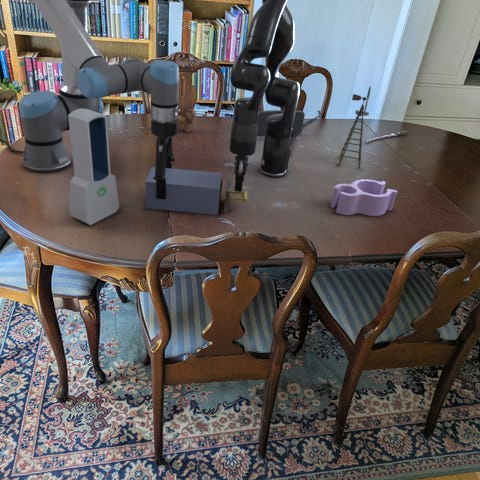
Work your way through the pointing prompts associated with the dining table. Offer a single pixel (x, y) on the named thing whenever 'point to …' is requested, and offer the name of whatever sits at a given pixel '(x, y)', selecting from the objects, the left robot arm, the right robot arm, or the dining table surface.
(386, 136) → the sword
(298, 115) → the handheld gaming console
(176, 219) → the dining table surface
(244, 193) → the drawer
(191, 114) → the lion figurine
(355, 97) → the miniature windmill
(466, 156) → the dining table surface
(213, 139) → the dining table surface
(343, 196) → the clip
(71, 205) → the electronic device
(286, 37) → the right robot arm
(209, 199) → the cabinet
